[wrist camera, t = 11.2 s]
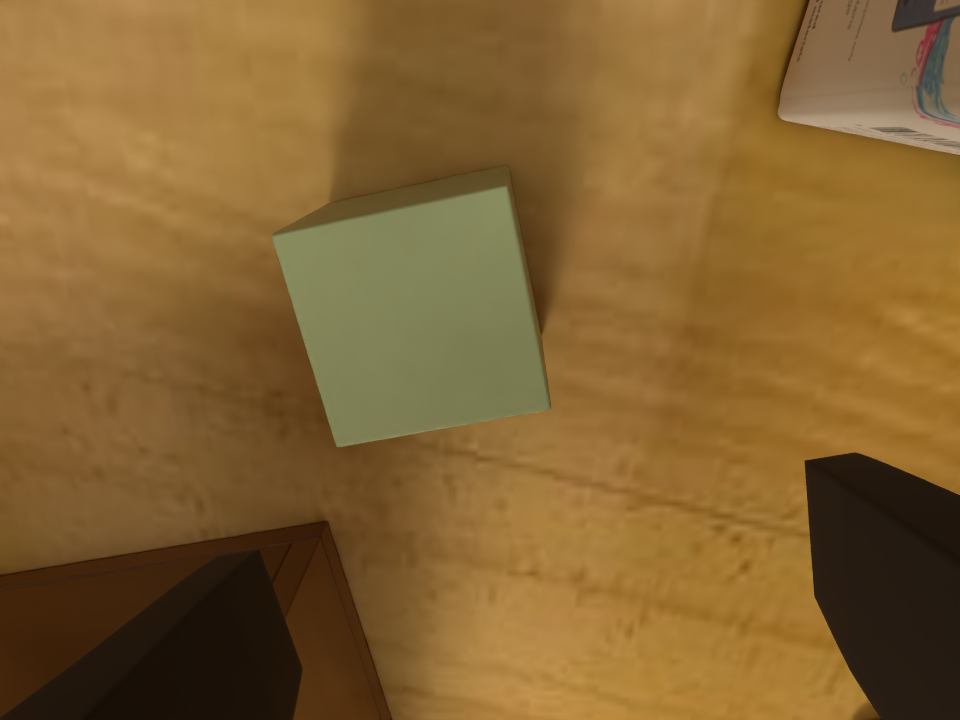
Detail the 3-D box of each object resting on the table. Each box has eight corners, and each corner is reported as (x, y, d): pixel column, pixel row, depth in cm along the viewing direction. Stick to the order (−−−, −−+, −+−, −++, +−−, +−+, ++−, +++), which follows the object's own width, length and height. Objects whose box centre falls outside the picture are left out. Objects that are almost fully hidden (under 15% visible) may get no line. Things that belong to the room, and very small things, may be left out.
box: (542, 340, 18) (551, 410, 14) (374, 371, 18) (335, 448, 14) (508, 164, 17) (507, 183, 12) (328, 203, 17) (269, 234, 13)
